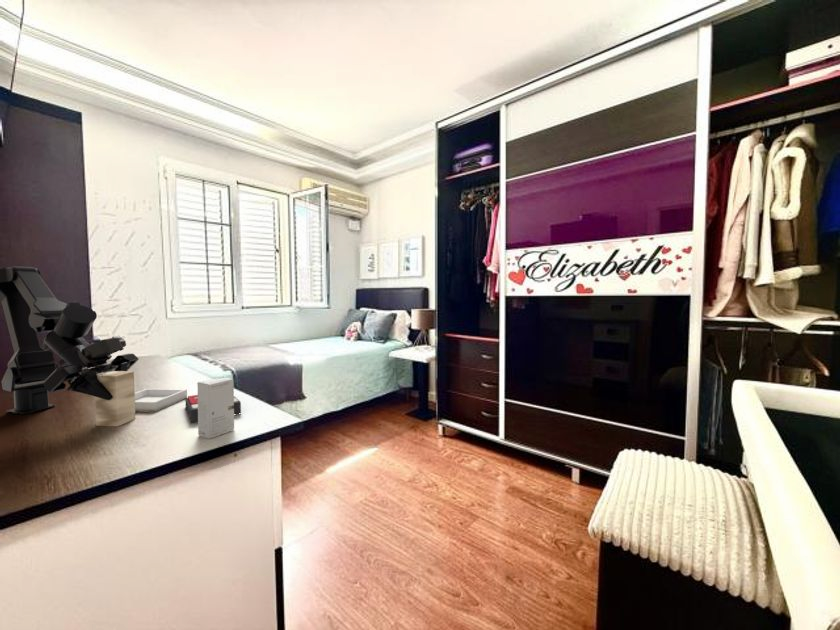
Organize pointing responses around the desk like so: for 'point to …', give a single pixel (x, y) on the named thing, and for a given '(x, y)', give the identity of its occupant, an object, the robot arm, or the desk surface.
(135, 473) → the desk surface
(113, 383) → the birch block
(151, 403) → the white tray
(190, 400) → the calculator
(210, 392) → the skincare box
